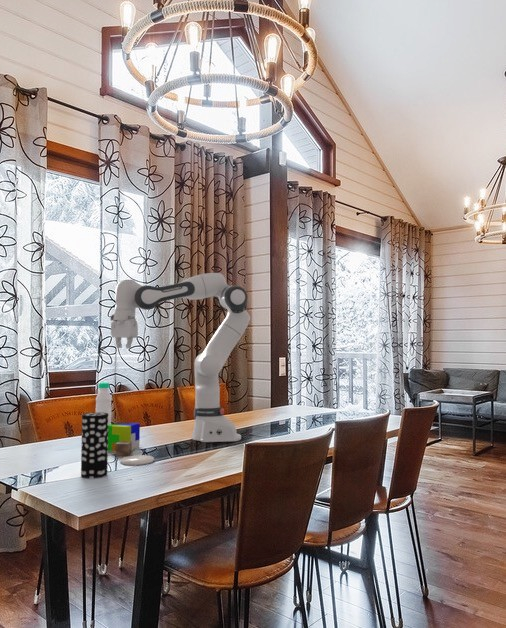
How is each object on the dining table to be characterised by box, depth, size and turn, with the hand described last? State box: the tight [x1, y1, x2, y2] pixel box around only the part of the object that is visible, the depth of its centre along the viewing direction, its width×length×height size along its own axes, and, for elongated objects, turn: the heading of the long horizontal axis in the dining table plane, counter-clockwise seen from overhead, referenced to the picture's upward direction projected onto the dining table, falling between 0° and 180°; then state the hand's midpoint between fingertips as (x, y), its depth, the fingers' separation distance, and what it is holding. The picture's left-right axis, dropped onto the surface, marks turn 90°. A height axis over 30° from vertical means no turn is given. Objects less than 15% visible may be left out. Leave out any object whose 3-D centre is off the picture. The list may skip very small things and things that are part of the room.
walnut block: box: [114, 441, 133, 458], centre depth 201 cm, size 5×5×5 cm
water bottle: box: [95, 382, 112, 425], centre depth 239 cm, size 7×7×25 cm
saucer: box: [119, 454, 155, 466], centre depth 191 cm, size 12×12×1 cm
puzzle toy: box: [108, 421, 141, 452], centre depth 214 cm, size 10×10×10 cm
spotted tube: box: [80, 412, 109, 480], centre depth 172 cm, size 8×8×20 cm
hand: (123, 348), depth 227 cm, fingers open, 8 cm apart
